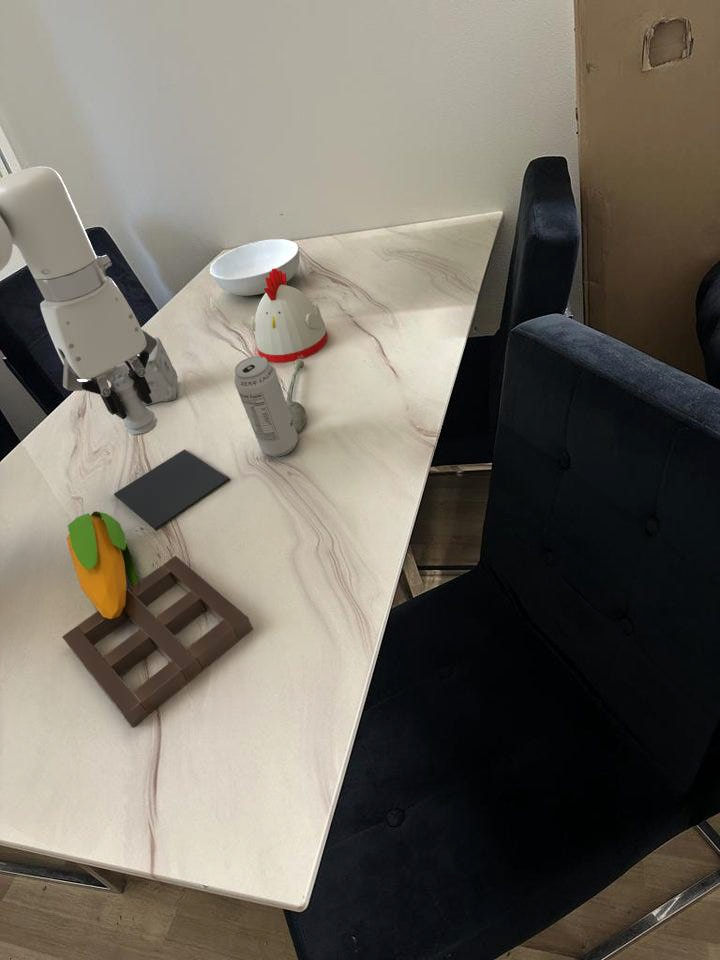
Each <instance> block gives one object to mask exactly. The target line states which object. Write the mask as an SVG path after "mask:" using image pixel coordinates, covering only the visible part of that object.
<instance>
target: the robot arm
mask: <svg viewBox="0 0 720 960" xmlns="http://www.w3.org/2000/svg"><path fill="white" fill-rule="evenodd" d="M82 223H83V222H82V221H81V218H80V216H79V214H78V212H77V209H76V207H75V205H74V202H73V200H72V198H71V196H70V194H69V192H68V188H67V187H66V184H65V183H64V181H63V179H62V177H61V175H60V174H59V173H58V172H57V170H55V169H53V168H52V167H49V166H41V165H40V166H33V167H27V168H23V169H19V170H17V171H14V172H11V173H8V174H6V175H4V176H2V177H0V272H1V271H2V270H4V269H5V267H6V266H7V265H8V263H9V262H10V260H11V258H12V254H13V247H14V246H16V247H17V249H18V250H19V252H20V254H21V256H22V258H23V259H24V262H25V264H26V266H27V267H28V270H29V271H30V274H31V275H32V277H33V279H34V281H35V284H36V285H37V287H38V289H39V291H40V294H41V295H42V297H43V298H44V300H42V301H41V302H40V303H39V306H40V311H41V315H42V317H43V320H44V324H45V326H46V329H47V331H48V334H49V336H50V338H51V341H52V343H53V345H54V348H55V350H56V352H57V354H58V357H59V359H60V361H61V363H62V365H63V373H62V387H63V388H64V389H66V390H67V391H69V392H83V391H85V392H89V393H92V394H97V395H99V396H100V398H101V400H102V401H103V404H104V406H105V408H106V410H107V411H108V413H109V414H110V415H112V416H113V415H116V416H117V417H119V418H120V419H122V420H125V418H126V416H127V414H126V412H125V410H124V408H123V406H122V404H121V402H120V400H119V398H118V396H117V394H116V393H115V392H114V391H112V390H111V388H110V387H111V386H110V384H109V381H108V380H107V379H106V376H105V373H104V372H106V371H108V370H110V369H111V368H113V367H115V366H117V365H119V364H121V363H123V362H124V363H125V365H126V366H127V368H128V369H129V373H128V376H129V377H130V378H132V379H133V380H134V384H133V387H134V389H137V395H138V397H139V398H140V400H141V401H143V402H144V403H146V404H150V405H152V404H151V403H152V399H151V397H150V395H149V394H151V390H150V387H149V385H148V383H147V381H146V379H145V374H146V370H145V368H146V365H147V362H148V359H149V355H150V354H151V353H152V351H153V350H154V348H155V347H156V345H157V340H156V339H154V338H155V337H153V336H151V335H150V334H149V333H148V332H146V331H145V330H144V329H143V328H142V327H141V325H140V323H139V321H138V319H137V317H136V315H135V313H134V311H133V310H132V308H131V306H130V305H129V303H128V301H127V300H126V298H125V297H124V294H123V293H122V292H121V290H120V288H119V287H118V285H116V283H115V282H114V280H113V279H112V278H111V277H110V276H108V274H107V273H106V270H107V269H108V267H111V266H113V263H112V260H111V259H110V257H109V255H107V254H105V255H102V256H100V255H99V256H98V255H96V254H97V253H95V250H94V248H93V245H92V244H91V241H90V239H89V237H88V234H87V232H86V230H85V228H84V226H83V224H82ZM13 245H14V246H13Z"/></svg>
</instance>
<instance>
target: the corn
mask: <svg viewBox="0 0 720 960" xmlns="http://www.w3.org/2000/svg"><path fill="white" fill-rule="evenodd" d="M67 528H68V534H67V537H66V541H67V546H68V550H69V551H70V553H69V554H70V556H71V560H72V562H73V566H74V570H75V572H76V576H77V579H78V582H79V586H80V589H81V591H82V592H83V593H84V594H85V596H86V597H87V598H88V600H89V601H90V602H91V604H92V605H93V607H95V608H96V610H97V611H99V612H100V614H101V615H102V616H103V617H105V618H109V619H112V618H115V617H118V616H120V614H121V612H122V610H123V608H124V606H125V599H126V591H127V581H128V584H129V588H131V587H132V586H134V585H135V584H137V583H138V582H139V578H138V572H137V569H136V566H135V562H134V561H135V560H134V558H133V555H132V553H131V550H130V548H129V545H128V543H127V539H126V533H125V532H124V530H123V528H122V525H121V523H120V522H118V521H117V520H116V519H115V518H114V517H113V516H111V515H109V514H108V513H106V512H102V511H93V512H92V513H90V512H88V513H84V514H82V515H79V516H78V517H76V518H75V519H73V520H72V521H71V522H70V523H68V524H67ZM138 590H139V588H138Z"/></svg>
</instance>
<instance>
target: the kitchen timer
mask: <svg viewBox="0 0 720 960" xmlns="http://www.w3.org/2000/svg"><path fill="white" fill-rule="evenodd" d="M269 277H270V278H265V279H266V283H267V287H268V288H264V290H265V293H264V295H263V296H262V298H261V300H260V301H259V304H258V306H257V308H256V312H255V316H254V315H252V316H251V318H250V319H251V320H250V321H251V322H250V323H251V328H252V332H254V340H255V347H256V351H257V353H258V356H260V357H264V358H266V359H267V361H268V363H269V362H270V363H276V364H282V363H284V364H285V363H291V362H295V361H296V360H297V359H302V360H303V359H305V358H308V357H311V356H312V355H314V354H316V353H317V352H319V351H320V350H321V349H323V348H324V347H325V346H326V344H327V343H328V339H329V336H328V331H327V327H326V325H325V322H324V320H323V318H322V314H321V311H320V308H319V306H318V304H317V303H316V304H314V303H313V302H312V301H311V300H310V299H309V298H308V297H307V296H306V295H305V294H304V293H302V292H301V291H300V290H299V289H298V288H297V289H296V288H295V287H293V286H290V285H288V284H287V283H288V282H287V280H286V273H282V271H281V270H280V271H277V268H275V269H272V272H269Z"/></svg>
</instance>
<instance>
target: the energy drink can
mask: <svg viewBox="0 0 720 960" xmlns="http://www.w3.org/2000/svg"><path fill="white" fill-rule="evenodd" d="M234 373H235V375H234V379H233V380H234V386H235V388H236V391H237V393H238V396H239V398H240V401H241V404H242V406H243V408H244V411H245V414H246V416H247V419H248V420H249V423H250V426H251V429H252V432H253V433H254V436H255V438H256V440H257V441H256V442H257V443H258V445H259V448H260V450H261V451H262V452H263V453H265V454H266V455H268V456H270V457H274V458H279V457H283V456H286V455H288V454H290V453H291V452H292V451H294V449H295V448H296V446H297V442H298V439H299V436H298V433H297V432H296V429H295V426H294V423H293V420H292V418H291V415H290V412H289V409H288V406H287V403H286V400H287V399H286V397H285V394H284V391H283V388H282V386H281V383H280V380H279V377H278V374H277V371H276V368H275V367H274V366H273V365H272V364H270V363H269V362H268V361H267V359H266V358H264V357H260V356H259V355H258V356H257V355H255V356H250V357H246V358H244V359H242V360H241V361H239V362H238V363H237V364H236V366H235V367H234Z"/></svg>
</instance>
